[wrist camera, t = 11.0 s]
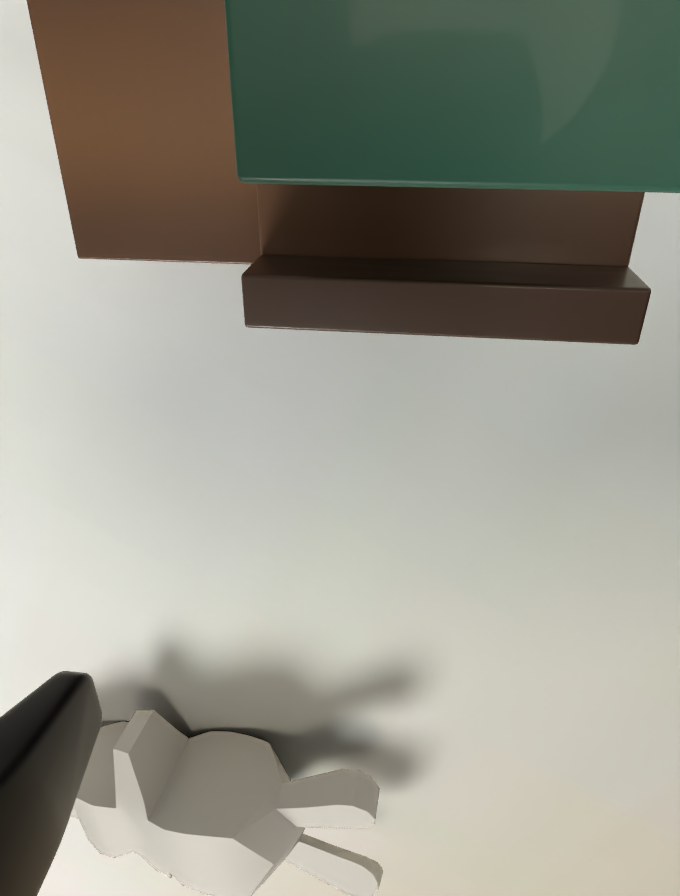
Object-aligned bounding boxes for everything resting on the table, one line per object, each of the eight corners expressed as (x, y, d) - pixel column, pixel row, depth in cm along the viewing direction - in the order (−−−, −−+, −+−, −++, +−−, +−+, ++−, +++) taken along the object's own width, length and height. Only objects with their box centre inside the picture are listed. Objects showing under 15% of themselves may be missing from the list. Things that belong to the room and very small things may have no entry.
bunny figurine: (4, 759, 26) (362, 839, 23) (77, 663, 31) (388, 717, 27) (65, 882, 31) (370, 964, 28) (121, 784, 35) (391, 844, 32)
